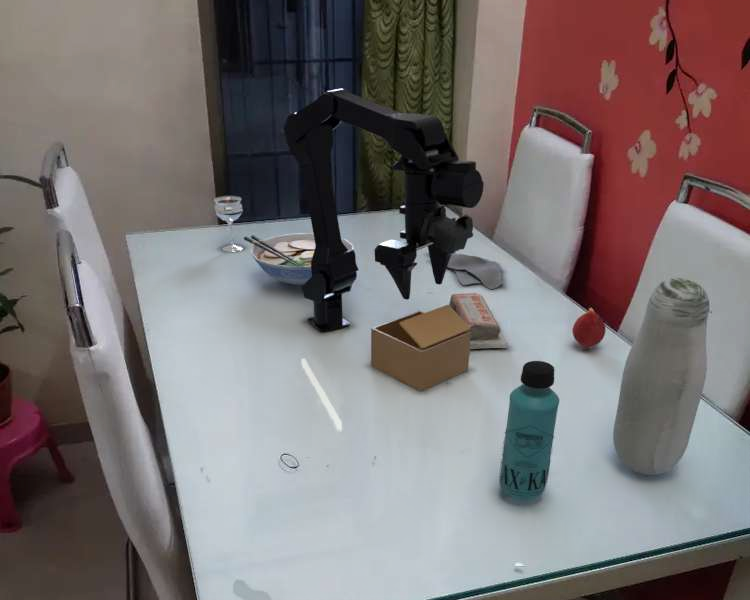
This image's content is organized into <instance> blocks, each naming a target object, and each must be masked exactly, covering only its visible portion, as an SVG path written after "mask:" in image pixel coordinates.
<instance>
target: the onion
mask: <svg viewBox="0 0 750 600" xmlns="http://www.w3.org/2000/svg"><path fill="white" fill-rule="evenodd" d="M605 324H606V323H605V322H604V320H603V318H602V317H601V316H600V315H599V314H597V312H596V311H595V310H594V309H593V308H592V307H589V308H588V310H587V312H586V313H583V314H582V315H580V316H579V317H578V318H577V319H576V320H575V322H574V324H573V326H572V336H573V338H574V340H575V341H576V342H577V343H578V345H580V347H581V348H582V349H584V350H588V349H590V348H593V347H595V346H597V345H599V344H600V343H601V342H602V340H604V337H605V335H606V325H605Z"/></svg>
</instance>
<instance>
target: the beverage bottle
mask: <svg viewBox="0 0 750 600" xmlns="http://www.w3.org/2000/svg"><path fill="white" fill-rule="evenodd" d="M520 382H521V383H522V384H521V385H519V386H517V387H516V388H514V389H513V390H512V391H511V392H510V394H509V404H508V411H507V418H506V419H507V420H506V427H505V431H504V440H503V442H502V449H501V458H500V461H501V464H500V466H499V468H500V469H499V472H498V473H499V474H498V475H499V476H498V477H499V478H498V482H499V487H500V489H501V491H502V492H503V493H504V494H505V495H507V496H508V497H510V498H512V499H516V500H523V501H526V500H534V499H537V498H539V497H540V496H542V495H543V493H544V492H545V490H546V488H547V484H548V480H549V479H548V478H549V474H550V473H549V472H550V468H551V467H550V466H551V460H552V459H551V457H552V455H553V453H552V452H553V449H554V448H553V445H554V444H553V443H554V439H555V438H556V437H554V436H555V428H556V421H557V416H558V408H559V405H560V398H559V395H558V394H557V393H556V392H555V391H554V390H553V389H552V388H551V387H552V386H553V385H554V384H555V367H554V366H553V365H552V364H551V363H549V362H547V361H542V360H531V361H527V362H525V363H524V364H523V366H522V370H521V375H520Z"/></svg>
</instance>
